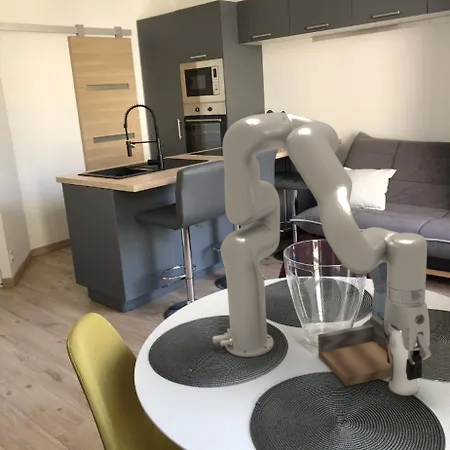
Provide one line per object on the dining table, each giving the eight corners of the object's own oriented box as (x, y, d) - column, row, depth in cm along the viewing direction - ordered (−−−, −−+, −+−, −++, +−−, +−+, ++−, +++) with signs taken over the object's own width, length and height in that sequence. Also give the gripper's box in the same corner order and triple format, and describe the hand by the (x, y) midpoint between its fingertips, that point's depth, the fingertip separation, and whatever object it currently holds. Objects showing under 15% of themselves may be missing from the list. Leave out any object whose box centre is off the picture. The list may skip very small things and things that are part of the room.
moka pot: (369, 302, 155) (369, 239, 149) (421, 312, 146) (423, 246, 141) (357, 314, 147) (357, 248, 142) (411, 326, 138) (413, 256, 133)
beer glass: (423, 398, 107) (425, 333, 103) (388, 396, 109) (389, 332, 105) (417, 379, 114) (419, 318, 110) (385, 378, 115) (386, 317, 111)
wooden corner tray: (346, 386, 113) (346, 353, 111) (318, 356, 126) (317, 327, 124) (409, 371, 117) (410, 340, 115) (375, 344, 130) (376, 315, 128)
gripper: (449, 305, 98) (445, 387, 103) (397, 276, 114) (395, 348, 119) (416, 312, 96) (413, 395, 101) (367, 281, 113) (366, 354, 117)
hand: (403, 369), depth 110 cm, fingers closed on beer glass, 6 cm apart
